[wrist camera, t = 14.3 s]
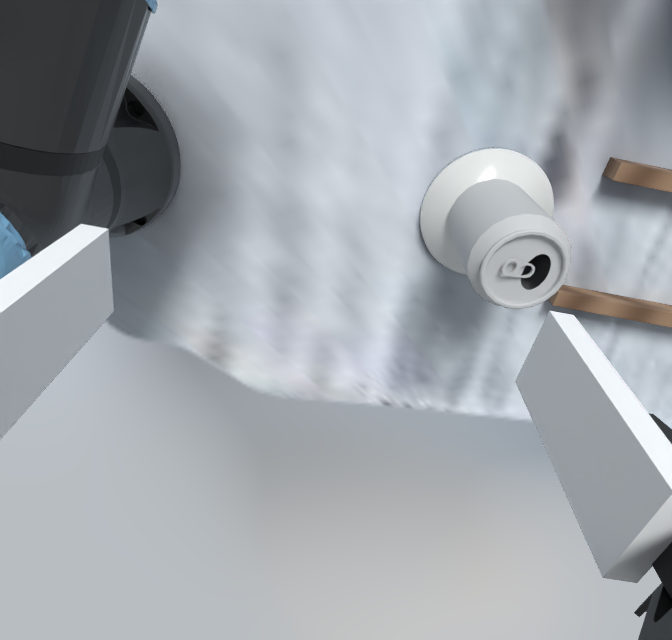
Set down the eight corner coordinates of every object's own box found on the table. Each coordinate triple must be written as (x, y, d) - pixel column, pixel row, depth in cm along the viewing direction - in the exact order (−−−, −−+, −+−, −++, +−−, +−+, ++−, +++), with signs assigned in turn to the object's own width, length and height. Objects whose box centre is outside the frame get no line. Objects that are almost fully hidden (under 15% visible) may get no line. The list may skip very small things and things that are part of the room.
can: (507, 263, 47) (548, 328, 36) (434, 243, 46) (455, 304, 36) (543, 188, 43) (602, 238, 32) (465, 165, 42) (499, 209, 32)
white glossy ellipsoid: (405, 260, 48) (406, 263, 47) (441, 135, 42) (442, 136, 41) (521, 281, 48) (523, 285, 48) (572, 162, 42) (576, 164, 42)
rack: (545, 295, 49) (552, 305, 47) (610, 157, 42) (621, 162, 40) (703, 325, 50) (716, 335, 48) (793, 195, 43) (811, 201, 41)
